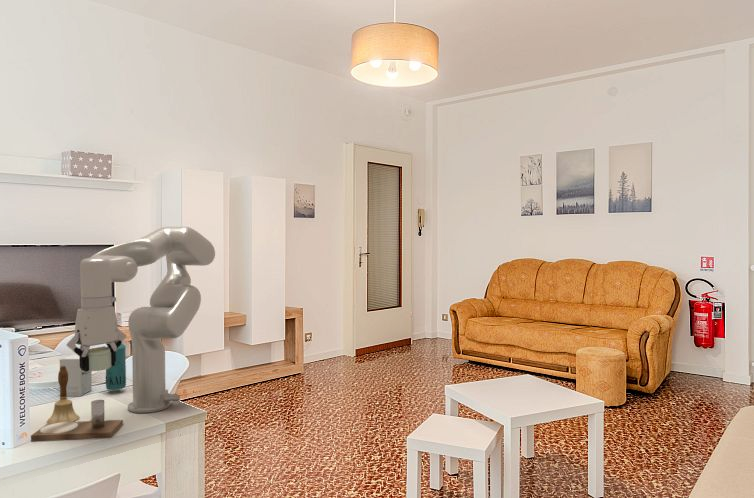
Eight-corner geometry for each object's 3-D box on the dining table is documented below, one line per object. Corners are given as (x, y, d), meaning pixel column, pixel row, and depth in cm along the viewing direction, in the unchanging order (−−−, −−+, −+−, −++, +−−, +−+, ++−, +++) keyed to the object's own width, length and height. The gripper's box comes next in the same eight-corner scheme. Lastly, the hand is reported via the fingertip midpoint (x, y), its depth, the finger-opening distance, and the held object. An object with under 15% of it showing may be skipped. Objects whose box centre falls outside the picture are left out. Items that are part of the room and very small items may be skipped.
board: (123, 424, 159) (123, 419, 159) (111, 437, 149) (110, 431, 149) (48, 428, 157) (48, 422, 156) (31, 441, 147) (30, 434, 147)
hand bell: (86, 416, 166) (85, 363, 166) (64, 426, 158) (63, 370, 158) (62, 414, 168) (62, 362, 168) (40, 423, 160) (39, 368, 160)
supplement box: (81, 396, 187) (80, 359, 186) (59, 396, 187) (58, 358, 186) (92, 390, 194) (92, 354, 194) (71, 390, 194) (70, 354, 194)
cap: (103, 363, 158) (103, 344, 158) (115, 367, 154) (114, 347, 154) (80, 368, 153) (79, 348, 153) (91, 372, 149) (90, 351, 149)
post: (106, 424, 155) (105, 399, 155) (102, 428, 152) (101, 402, 152) (94, 424, 155) (93, 399, 155) (89, 428, 152) (89, 403, 151)
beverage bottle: (113, 388, 196) (112, 332, 195) (130, 389, 195) (129, 332, 194) (101, 394, 189) (100, 335, 189) (119, 395, 188) (118, 336, 188)
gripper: (120, 298, 162) (121, 359, 162) (56, 305, 148) (58, 372, 149) (134, 300, 157) (135, 363, 158) (69, 308, 143) (71, 377, 144)
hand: (98, 367), depth 153 cm, fingers closed on cap, 6 cm apart
